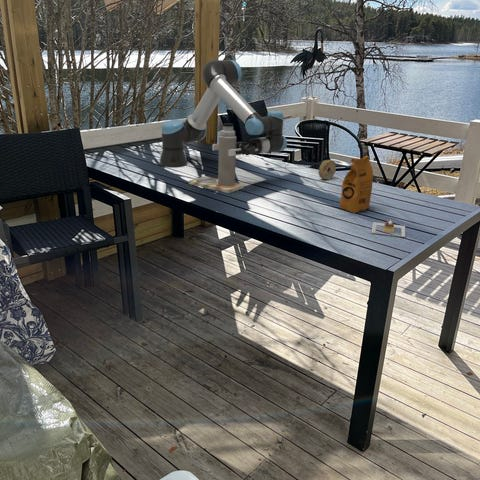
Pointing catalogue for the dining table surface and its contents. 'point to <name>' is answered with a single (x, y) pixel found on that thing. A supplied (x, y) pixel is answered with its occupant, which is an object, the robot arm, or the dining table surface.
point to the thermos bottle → (226, 156)
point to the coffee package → (357, 186)
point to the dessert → (388, 228)
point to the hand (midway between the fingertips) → (220, 150)
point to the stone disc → (327, 169)
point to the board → (214, 184)
